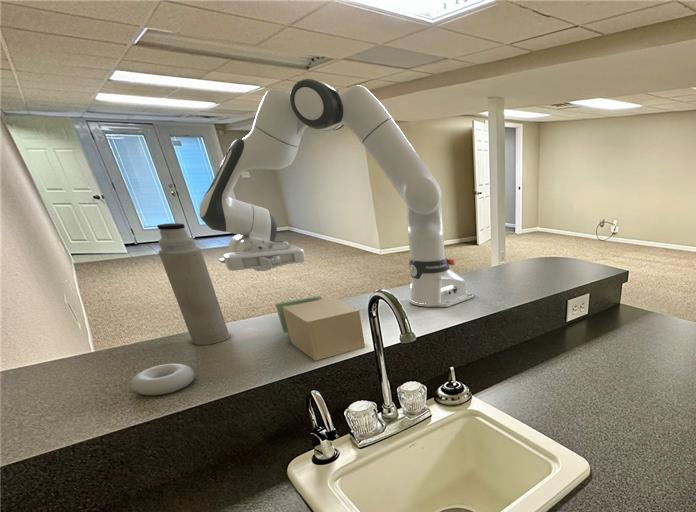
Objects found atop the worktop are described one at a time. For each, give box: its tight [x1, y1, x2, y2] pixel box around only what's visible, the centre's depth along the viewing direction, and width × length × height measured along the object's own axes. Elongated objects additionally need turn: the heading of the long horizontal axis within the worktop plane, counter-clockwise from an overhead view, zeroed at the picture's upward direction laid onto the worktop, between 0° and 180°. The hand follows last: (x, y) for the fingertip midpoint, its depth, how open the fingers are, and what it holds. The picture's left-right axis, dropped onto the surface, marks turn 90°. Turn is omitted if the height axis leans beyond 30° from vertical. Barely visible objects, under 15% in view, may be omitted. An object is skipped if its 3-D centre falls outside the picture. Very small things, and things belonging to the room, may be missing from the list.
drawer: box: [275, 295, 323, 334], centre depth 107 cm, size 18×11×8 cm, turn 46°
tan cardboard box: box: [282, 297, 366, 362], centre depth 101 cm, size 15×13×10 cm
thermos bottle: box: [156, 222, 230, 346], centre depth 98 cm, size 8×8×28 cm
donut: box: [130, 363, 195, 396], centre depth 82 cm, size 10×4×10 cm
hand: (275, 263), depth 110 cm, fingers closed
